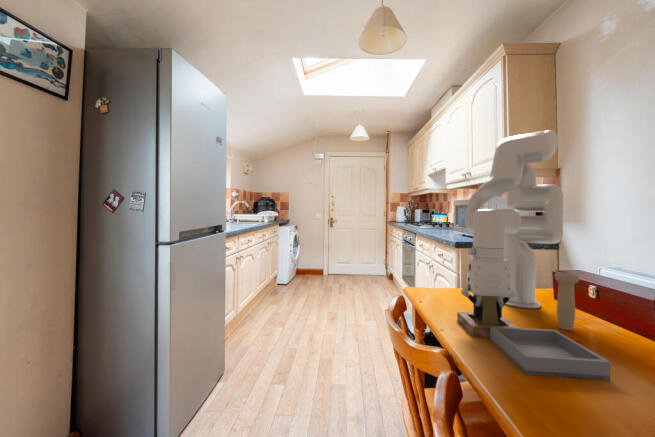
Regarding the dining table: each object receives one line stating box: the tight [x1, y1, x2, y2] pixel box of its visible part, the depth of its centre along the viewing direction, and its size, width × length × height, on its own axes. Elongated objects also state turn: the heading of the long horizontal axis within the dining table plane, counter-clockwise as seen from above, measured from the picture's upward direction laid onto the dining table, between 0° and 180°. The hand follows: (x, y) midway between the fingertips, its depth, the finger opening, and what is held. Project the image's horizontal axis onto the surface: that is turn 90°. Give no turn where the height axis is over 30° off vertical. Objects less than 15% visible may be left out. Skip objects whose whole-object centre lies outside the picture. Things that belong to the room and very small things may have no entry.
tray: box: [489, 327, 611, 381], centre depth 61 cm, size 15×15×4 cm
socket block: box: [456, 311, 520, 339], centre depth 77 cm, size 12×12×2 cm
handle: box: [554, 272, 580, 332], centre depth 77 cm, size 5×6×15 cm
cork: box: [476, 296, 499, 326], centre depth 77 cm, size 6×6×11 cm
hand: (487, 318), depth 77 cm, fingers closed on cork, 4 cm apart
